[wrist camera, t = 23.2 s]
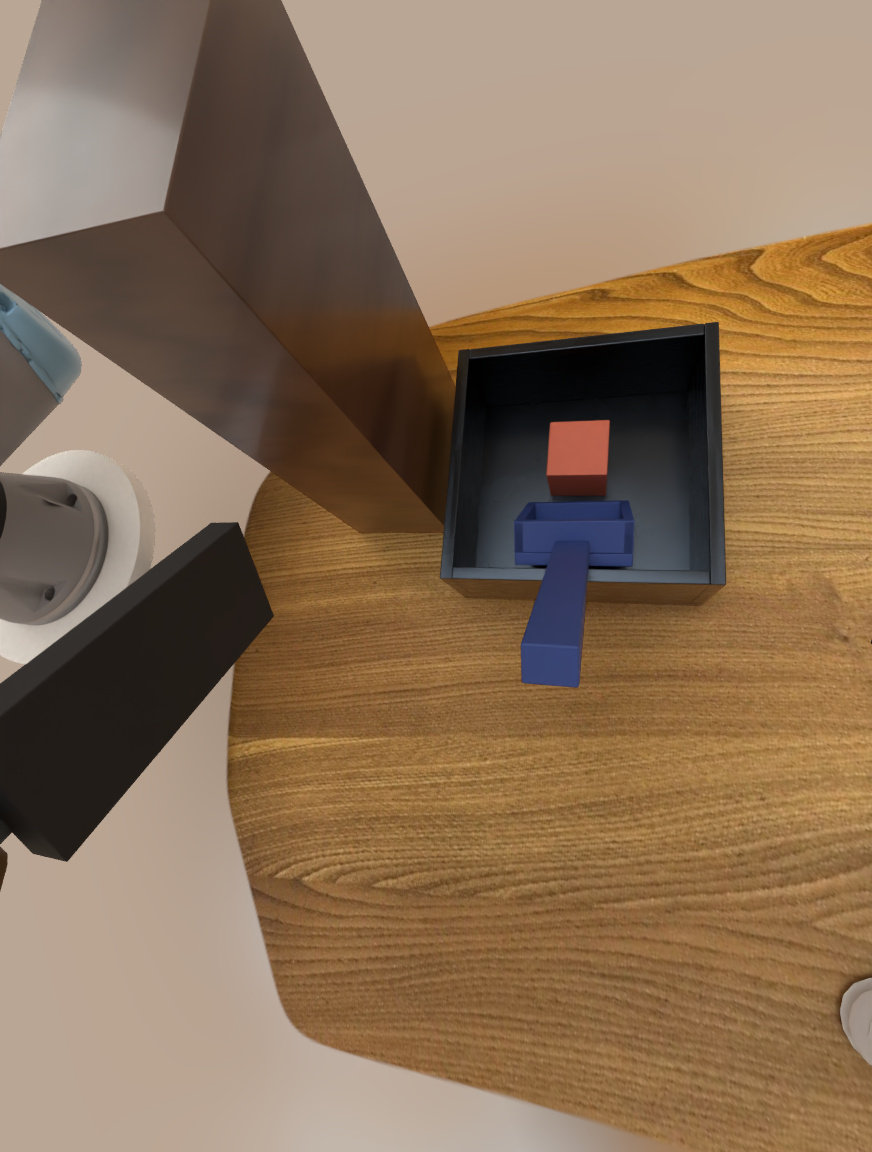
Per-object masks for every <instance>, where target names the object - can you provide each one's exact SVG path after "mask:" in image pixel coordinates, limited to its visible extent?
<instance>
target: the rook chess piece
mask: <svg viewBox="0 0 872 1152" xmlns="http://www.w3.org/2000/svg"><path fill="white" fill-rule="evenodd" d="M840 1015H841V1020H842V1025H843V1030H844V1032H845V1034H846V1035H847V1037H848V1039H849V1040H850V1042H851V1044H852V1046H853V1047H854V1049H856V1050H857V1051H858V1052H859V1053H860V1054H861V1056H862V1057H863V1058H864V1059H865V1060H866V1061H867V1062H868V1063H869V1064H870V1065H871V1066H872V978H868V979H865V980H862V981H859V982H856V983H854V984H853V985H852V986H851V987H850V988H849V989H848V991H847V992H846V993H845V994H844V995H843V999H842V1004H841V1008H840Z"/></svg>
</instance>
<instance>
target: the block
mask: <svg viewBox="0 0 872 1152" xmlns="http://www.w3.org/2000/svg"><path fill="white" fill-rule="evenodd" d="M609 429H610V420H597V421H571V422H551V423H550V431H549V444H548V458H547V472H546V476H547V480H548V485H549V489H550V494H551V496H606V488H607V469H608V449H609Z"/></svg>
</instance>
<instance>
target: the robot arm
mask: <svg viewBox="0 0 872 1152" xmlns="http://www.w3.org/2000/svg"><path fill="white" fill-rule="evenodd" d="M81 366H82V365H81V358H80V356H79V354H78V352H77V350H76V349H75V348H74V346H73V345H72V344H71V343H70V341H69V340H68V339H67V338H66V337H65V336H64V335H63V334H62V333H61V332H60V331H59V330H58V329H57V328H56V327H55V326H54V325H53V324H52V323H51V322H50V321H49V320H48V319H47V318H46V317H45V316H44V315H43V314H42V313H41V312H40V311H39V310H37V309H36V308H35V307H33V306H32V305H30V304H29V303H27V302H26V301H24V300H23V299H22V298H20V297H19V296H17V295H16V294H14V293H13V292H11V291H10V290H9V289H7V288H6V287H4V286H3V285H1V284H0V466H1V465H2V463H4V462H5V460H6V459H7V458H8V457H9V456H10V455H11V454H12V453H13V452H14V451H15V450H16V449H17V448H18V447H19V446H20V445H21V443H22V442H23V441H24V440H25V439H26V438H27V437H28V436H29V435H30V434H31V433H32V432H33V431H34V430H35V429H36V428H37V427H38V426H39V424H40V423H41V422H42V421H43V420H44V419H45V418H46V417H47V416H48V415H49V414H50V413H51V412H52V411H53V410H54V409H55V408H56V406H57V405H59V404H60V403H61V402H62V401H63V396H64V395H65V394H66V392H67V391H68V390H69V388H70V387H71V386H72V385H73V383H74V382H75V381H76V379H77V378H78V377H79V375H80V373H81ZM107 547H108V522H107V517H106V513H105V510H104V508H103V506H102V504H101V502H100V501H99V499H98V498H97V497H96V495H95V494H94V493H93V492H91V491H90V490H89V489H87V488H85V487H83V486H81V485H78V484H76V483H73V482H71V481H69V480H66V479H62V478H56V477H47V476H36V475H24V474H13V473H2V472H0V619H2V620H5V621H8V622H11V623H18V624H26V625H44V624H48V623H51V622H54V621H56V620H58V619H60V618H62V617H64V616H65V615H67V614H68V613H70V612H71V611H72V610H73V609H74V608H76V607H77V606H78V605H79V604H80V603H81V602H82V601H83V599H84V598H85V597H86V596H87V594H88V593H89V592H90V590H91V589H92V587H93V585H94V584H95V582H96V580H97V578H98V576H99V574H100V572H101V569H102V567H103V564H104V561H105V557H106V553H107ZM273 616H274V615H273V612H272V610H271V607H270V605H269V602H268V599H267V597H266V594H265V591H264V589H263V586H262V584H261V581H260V578H259V576H258V573H257V571H256V568H255V565H254V563H253V560H252V557H251V555H250V552H249V550H248V547H247V544H246V542H245V539H244V537H243V534H242V531H241V529H240V526H239V523H238V522H237V523H210V524H209V525H208V526H207V527H205V528H204V529H203V530H201V531H200V532H199V533H198V534H196V535H195V536H193V537H192V538H191V539H189V541H187V542H186V543H184V544H183V545H182V546H180V547H179V548H178V549H176V550H175V551H174V552H173V553H171V554H170V555H169V556H167V557H166V558H165V559H163V560H162V561H161V562H159V563H158V564H157V565H155V566H154V567H153V568H151V569H150V570H149V571H147V572H146V573H145V574H144V575H142V576H141V577H140V578H138V579H137V580H136V581H134V582H133V583H132V584H130V585H129V586H128V587H126V588H125V589H124V590H123V591H121V592H120V593H119V594H117V595H116V596H115V597H113V598H112V599H111V600H109V601H108V602H107V603H105V604H104V605H103V606H102V607H100V608H99V609H98V610H96V611H95V612H94V613H92V614H91V615H90V616H88V617H87V618H86V619H84V620H83V621H82V622H81V623H79V624H78V625H77V626H75V627H74V628H73V629H71V630H70V631H69V632H67V633H66V634H65V635H64V636H62V637H61V638H60V639H58V640H57V641H56V642H54V643H53V644H52V645H50V646H49V647H48V648H46V649H45V650H44V651H43V652H41V653H40V654H39V655H37V656H36V657H35V658H33V659H32V660H31V661H29V662H28V663H27V664H25V665H24V666H23V667H22V668H20V669H19V670H18V671H16V672H15V673H14V674H12V675H11V676H10V677H9V678H7V679H6V680H5V681H3V682H2V683H1V684H0V844H1V843H2V842H3V841H4V840H5V839H6V838H7V837H8V836H9V835H10V834H11V833H13V834H14V835H15V836H16V837H17V838H18V839H19V840H20V841H21V842H22V843H23V844H24V845H25V846H26V847H27V848H28V849H29V850H30V851H31V852H32V853H33V854H37V855H41V856H45V857H49V858H54V859H58V860H62V861H66V862H67V861H68V860H69V859H70V858H71V857H72V855H73V854H74V853H75V852H76V851H77V850H78V848H79V847H80V846H81V845H82V843H83V842H84V841H85V840H86V839H87V838H88V836H89V835H90V834H91V833H92V832H93V831H94V829H95V828H96V827H97V826H98V825H99V823H100V822H101V821H102V820H103V819H104V817H105V816H106V815H107V814H108V813H109V811H110V810H111V809H112V808H113V807H114V805H115V804H116V803H117V802H118V801H119V800H120V798H121V797H122V796H123V795H124V794H125V792H126V791H127V790H128V789H129V788H130V786H131V785H132V784H133V783H134V782H135V781H136V779H137V778H138V777H139V776H140V774H141V773H142V772H143V771H144V770H145V769H146V767H147V766H148V765H149V764H150V763H151V762H152V760H153V759H154V758H155V757H156V756H157V754H158V753H159V752H160V751H161V750H162V748H163V747H164V746H165V745H166V744H167V742H168V741H169V740H170V739H171V738H172V737H173V735H174V734H175V733H176V732H177V731H178V729H179V728H180V727H181V725H183V723H184V722H185V721H186V720H187V719H188V717H189V716H190V715H191V714H192V713H193V712H194V710H195V709H196V708H197V707H198V706H199V704H200V703H201V702H202V701H203V700H204V698H205V697H206V696H207V695H208V693H209V692H210V691H211V690H212V689H213V688H214V687H215V685H216V684H217V683H218V682H219V681H220V679H221V678H222V677H223V676H224V675H225V673H226V672H227V671H228V670H229V669H230V667H231V666H232V665H233V664H234V663H235V662H236V660H237V659H238V658H239V657H240V656H241V654H242V653H243V652H244V651H245V650H246V649H247V647H248V646H249V645H250V644H251V643H252V641H253V640H254V639H255V638H256V637H257V635H258V634H259V633H260V632H261V631H262V629H263V628H264V627H265V626H266V625H267V624H268V622H269V621H270V620H271V619H272V618H273ZM871 644H872V640H871ZM6 868H7V853H6V852H5V851H4V850H3V849H2V848H1V847H0V890H1V886H2V883H3V879H4V875H5V872H6Z"/></svg>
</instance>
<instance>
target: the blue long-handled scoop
mask: <svg viewBox="0 0 872 1152" xmlns="http://www.w3.org/2000/svg"><path fill="white" fill-rule="evenodd" d="M634 523H635V521H634V518H633V514H632V511H631V507H630V504H629V501H628V500H620V501H570V502H528V503H527V505H526V506H525V507H524V509H523V510H522V512H521V513H520V514H519V516H518V517H517V518H516V520H515V521H514V551H515V565H547V568H546V571H545V574H544V577H543V580H542V583H541V586H540V589H539V592H538V595H537V598H536V601H535V604H534V607H533V610H532V613H531V616H530V619H529V622H528V625H527V628H526V631H525V634H524V637H523V640H522V643H521V673H522V682H523V683H528V684H540V685H552V686H565V687H579V683H580V671H581V658H582V645H583V632H584V620H585V607H586V594H587V582H588V569H589V566H622V567H632V566H633V546H634Z"/></svg>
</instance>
